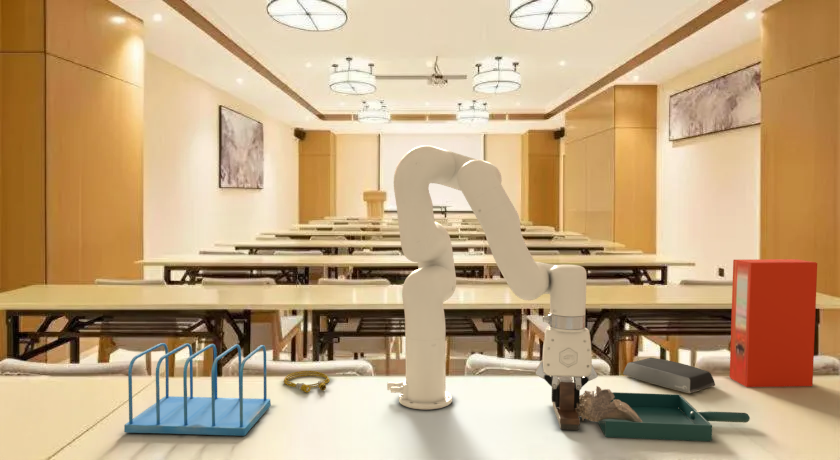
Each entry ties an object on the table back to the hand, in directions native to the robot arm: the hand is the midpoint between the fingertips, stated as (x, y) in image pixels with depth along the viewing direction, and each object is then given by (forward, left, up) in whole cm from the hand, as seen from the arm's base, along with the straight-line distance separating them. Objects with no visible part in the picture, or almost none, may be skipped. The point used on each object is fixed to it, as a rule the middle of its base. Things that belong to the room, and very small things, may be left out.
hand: (565, 404), depth 127 cm
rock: (+9, -1, -3) cm, 9 cm away
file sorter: (-78, -9, -3) cm, 79 cm away
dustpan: (+22, 0, -3) cm, 23 cm away
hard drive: (+31, +30, -3) cm, 43 cm away
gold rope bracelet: (-63, +18, -3) cm, 66 cm away
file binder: (+57, +32, -3) cm, 66 cm away
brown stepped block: (0, 0, -3) cm, 3 cm away
